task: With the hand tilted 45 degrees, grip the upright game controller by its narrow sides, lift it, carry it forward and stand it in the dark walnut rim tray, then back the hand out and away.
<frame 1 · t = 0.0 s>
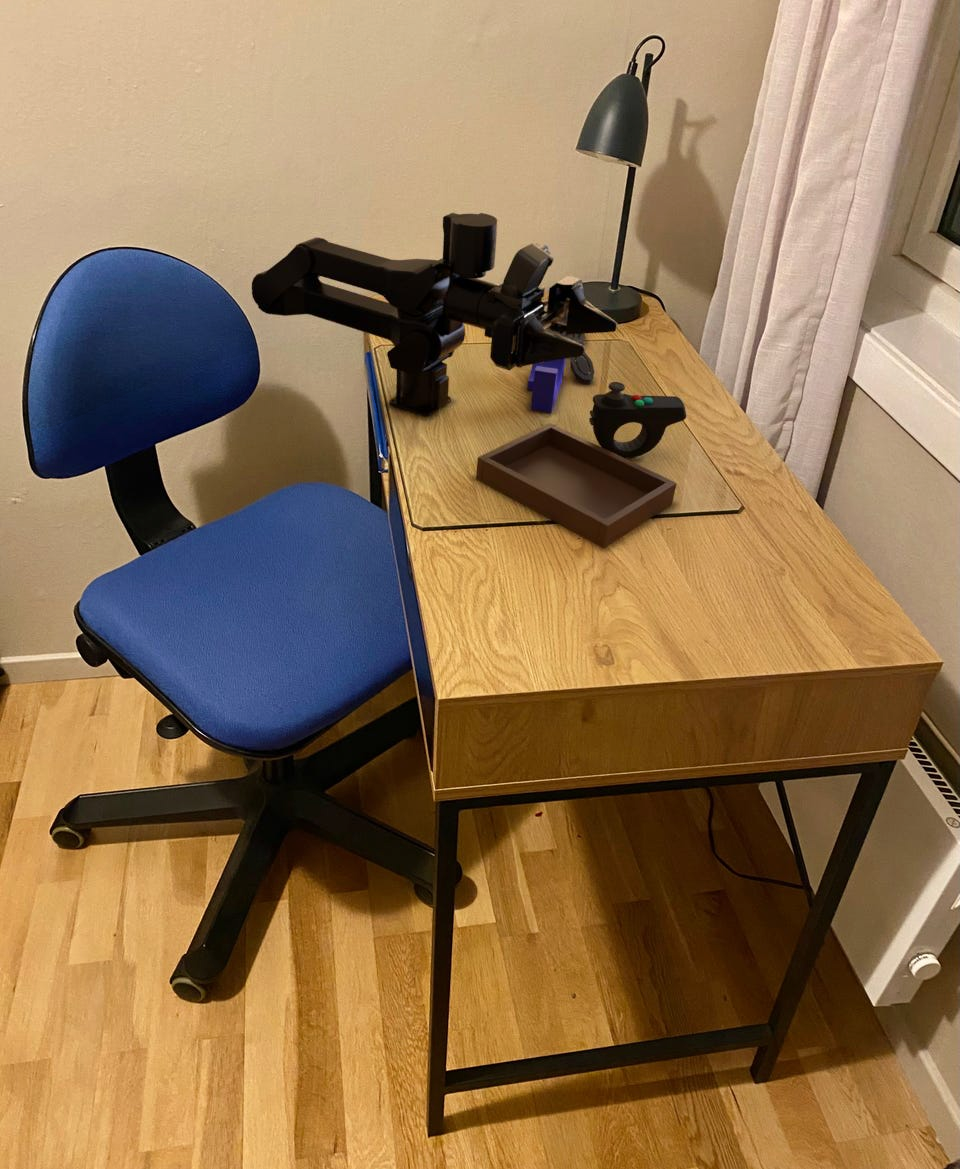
hand: (600, 338, 115), 17 cm above the table, tool horizontal, fingers open, 9 cm apart
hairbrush: (566, 351, 152), on the table
purple stepped block: (542, 393, 139), on the table
controller: (630, 456, 126), on the table
tray: (573, 491, 118), on the table
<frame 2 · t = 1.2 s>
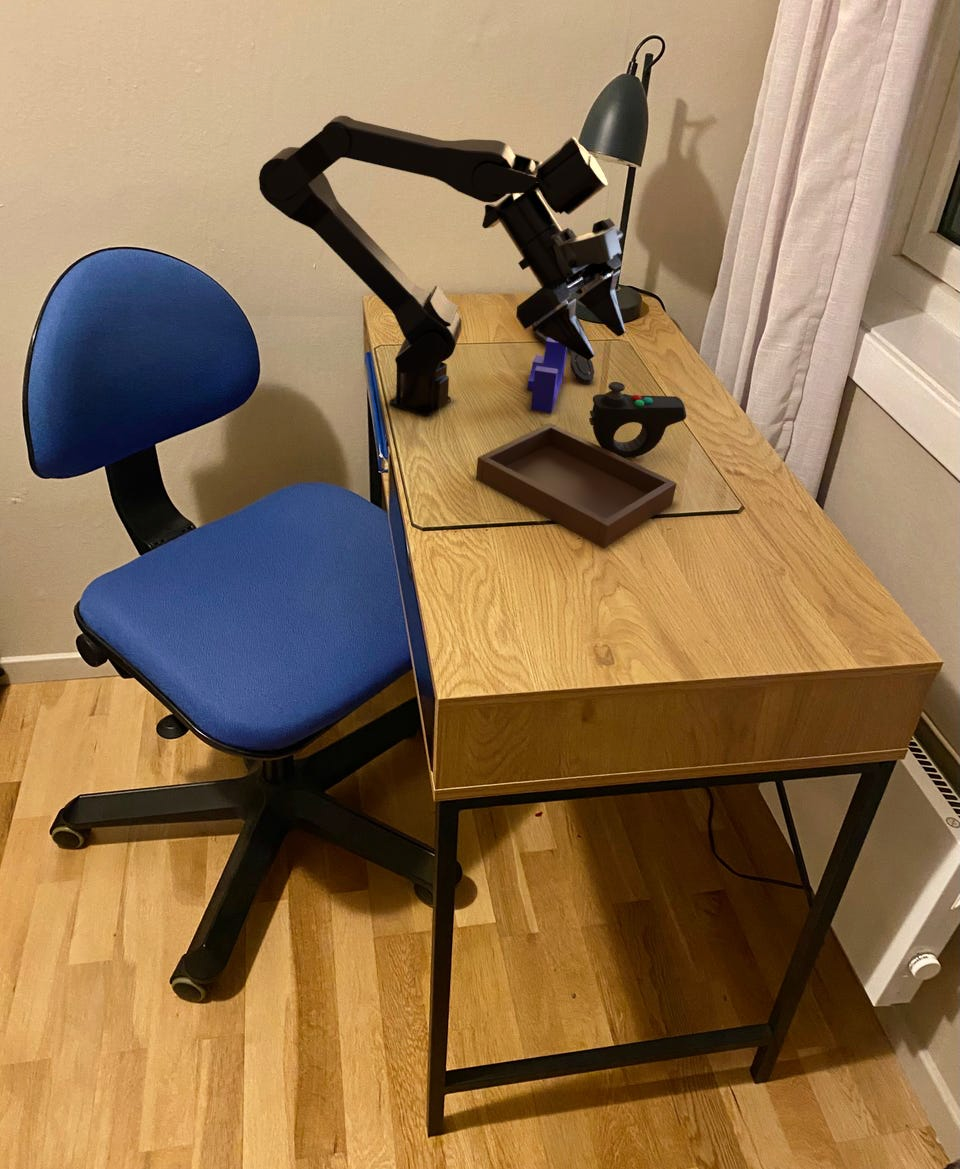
hand: (607, 346, 120), 14 cm above the table, tool tilted 45°, fingers open, 9 cm apart
nothing on the table moved.
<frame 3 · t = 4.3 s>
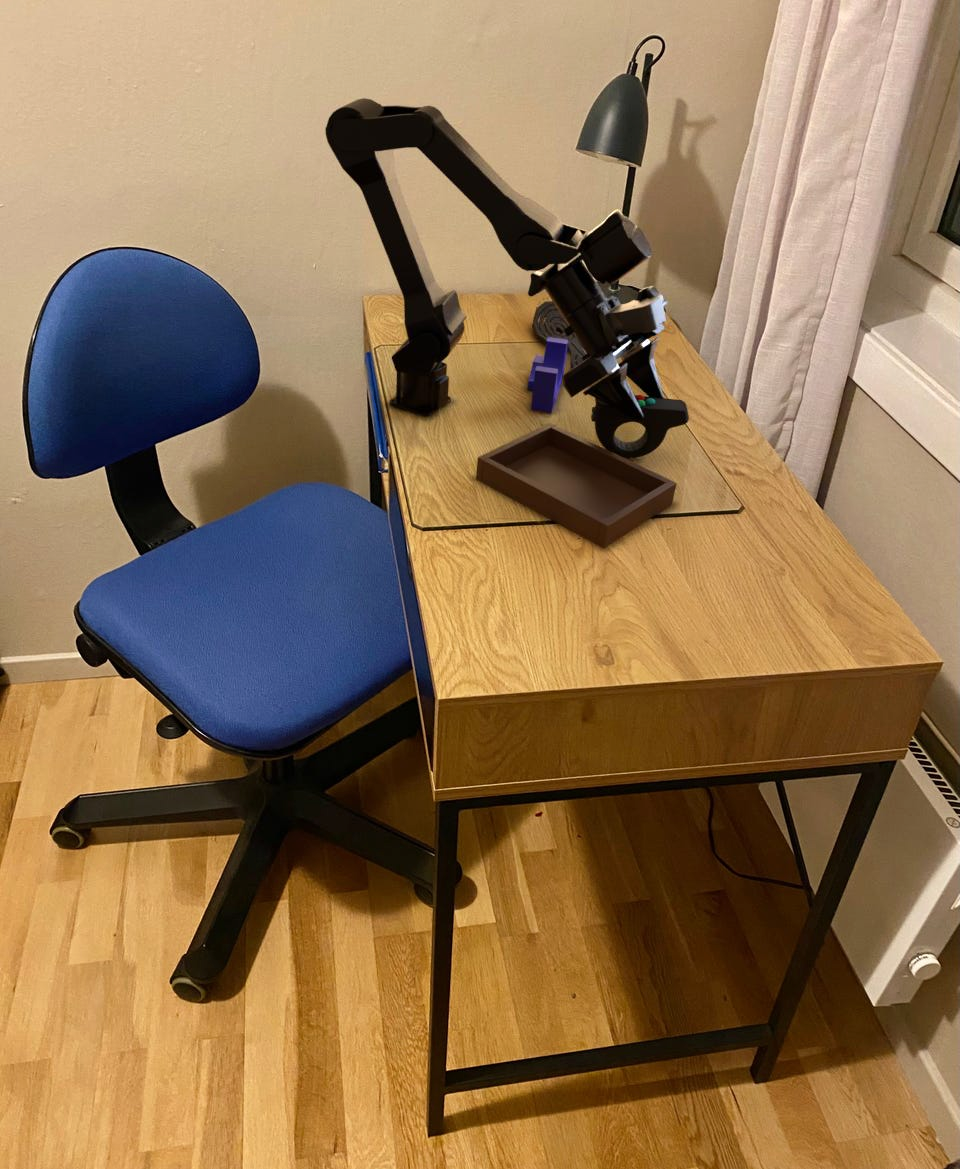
hand: (651, 410, 121), 7 cm above the table, tool tilted 45°, fingers closed on controller, 6 cm apart
controller: (632, 456, 126), on the table, touching gripper
everything else where it was.
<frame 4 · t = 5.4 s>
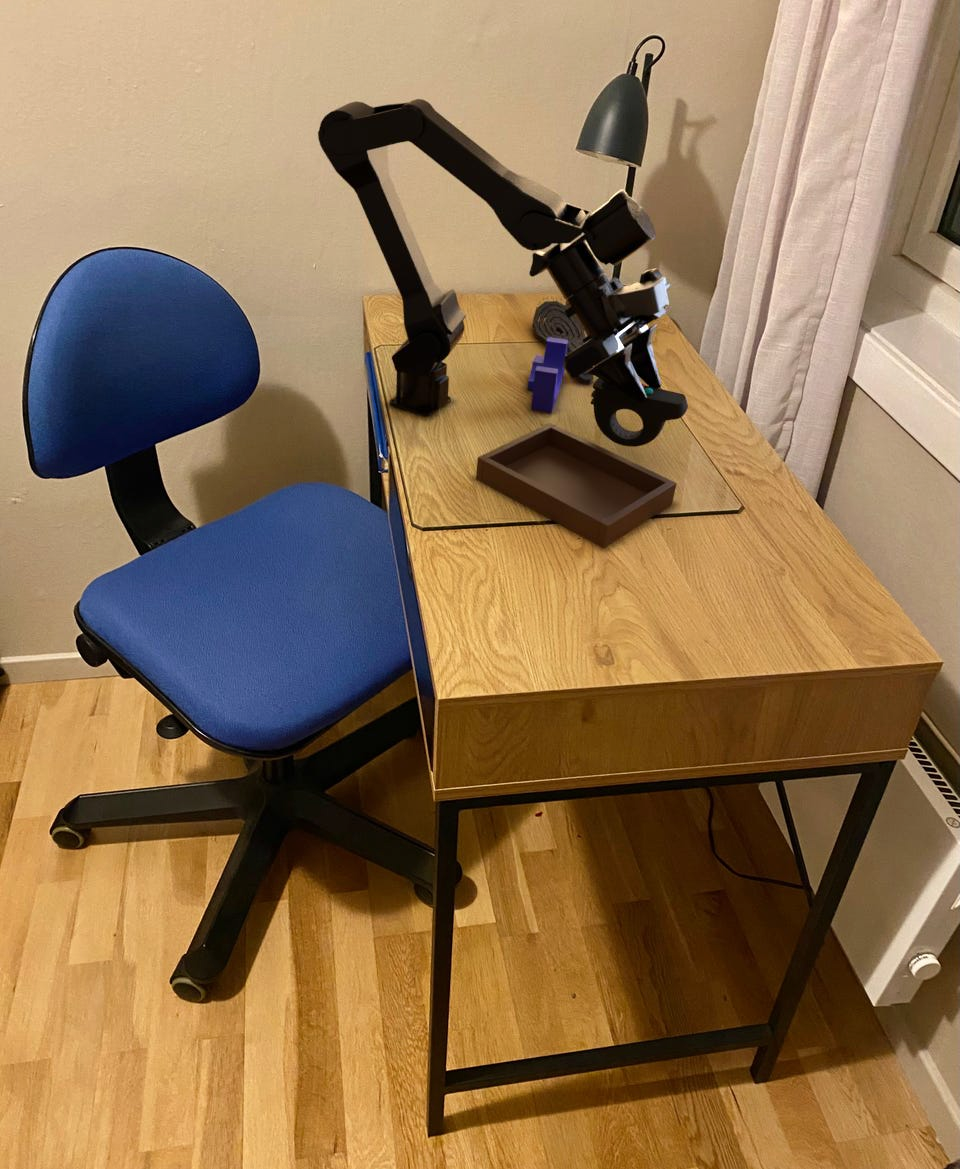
hand: (651, 394, 120), 9 cm above the table, tool tilted 45°, fingers closed on controller, 4 cm apart
controller: (632, 445, 126), point 1 cm above the table, touching gripper
everything else where it was.
when the fingers open (8 cm above the table, at t = 9.9 s): controller stays where it is, resting on tray.
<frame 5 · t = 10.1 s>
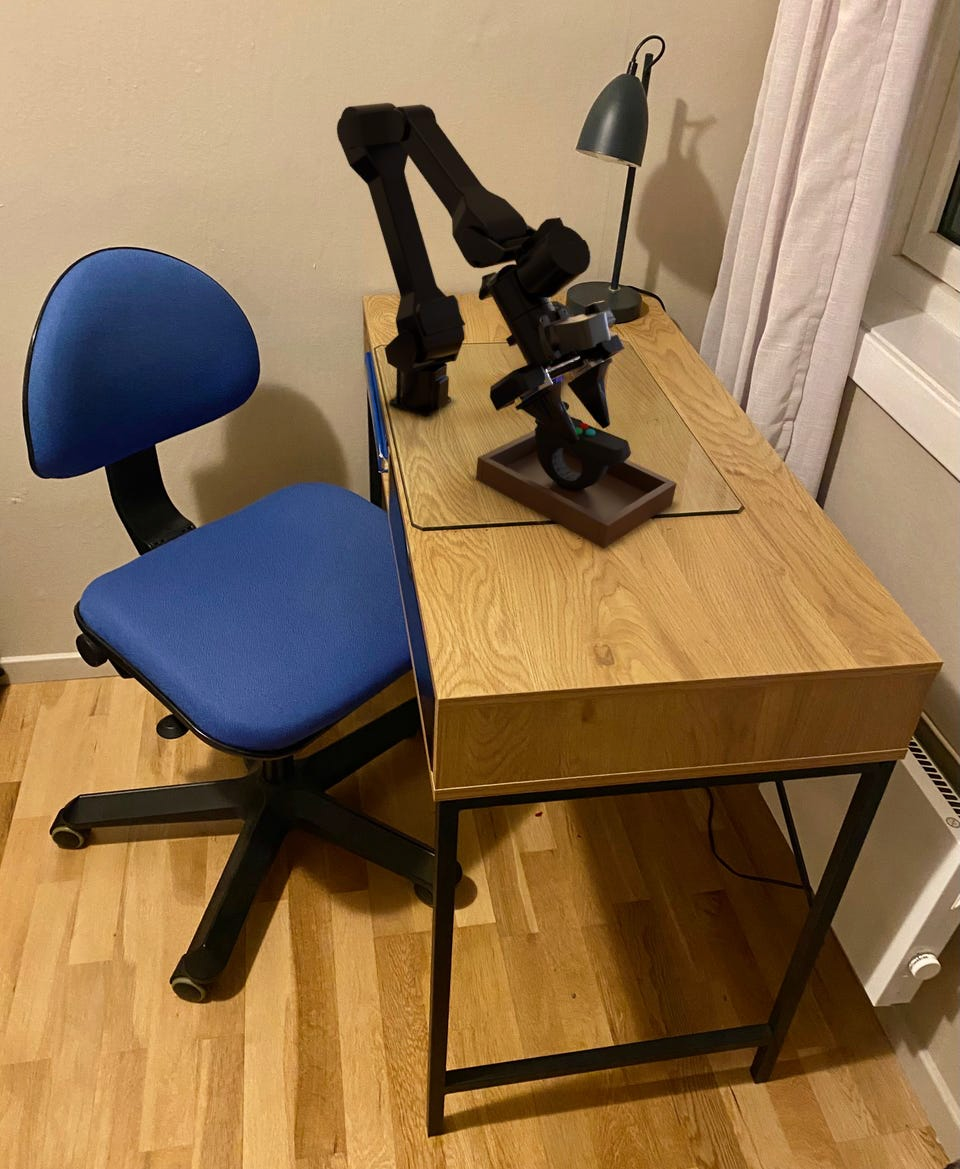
hand: (591, 434, 112), 8 cm above the table, tool tilted 45°, fingers open, 6 cm apart
controller: (574, 487, 118), resting on tray
everything else where it was.
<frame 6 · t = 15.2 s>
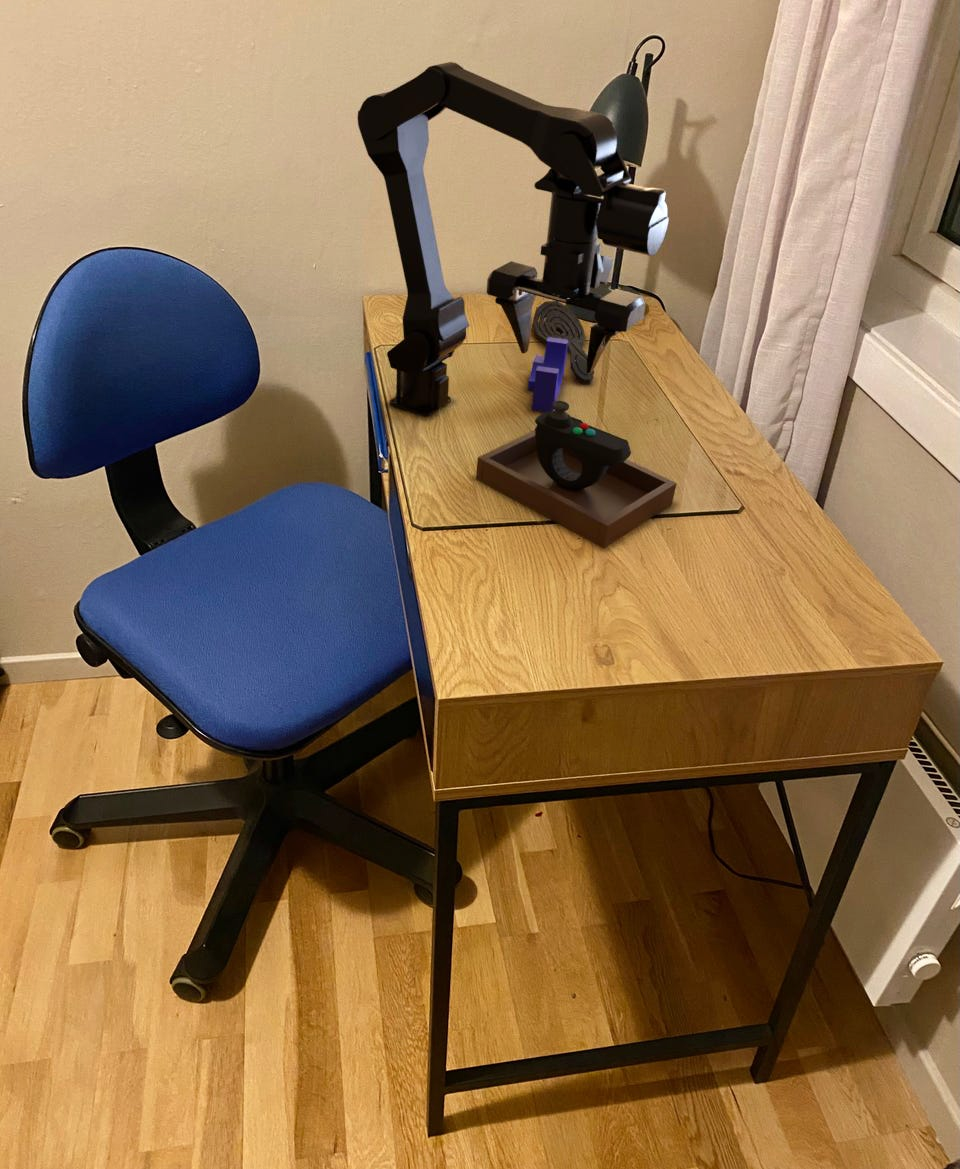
hand: (556, 362, 119), 12 cm above the table, tool pointing down, fingers open, 9 cm apart
nothing on the table moved.
at the end: controller inside the target area in the tray (0.3 cm from its centre), point 0.4 cm above the tray's base; the gripper is holding nothing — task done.
